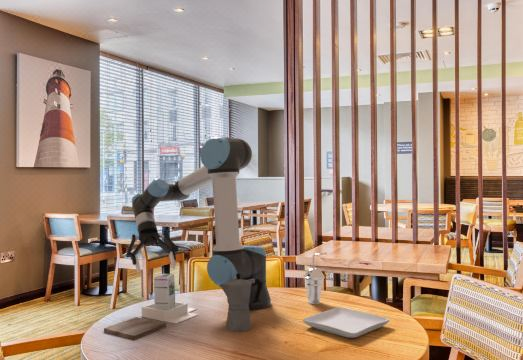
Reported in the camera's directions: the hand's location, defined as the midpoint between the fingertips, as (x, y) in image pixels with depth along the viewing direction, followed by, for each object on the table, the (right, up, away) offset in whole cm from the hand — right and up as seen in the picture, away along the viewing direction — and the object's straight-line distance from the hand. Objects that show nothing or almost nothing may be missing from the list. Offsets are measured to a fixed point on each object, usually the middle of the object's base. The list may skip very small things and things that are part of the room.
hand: (156, 269), depth 179 cm
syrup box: (+5, -15, -7) cm, 18 cm away
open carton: (+8, -15, -7) cm, 18 cm away
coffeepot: (+33, -15, -22) cm, 43 cm away
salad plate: (+68, -15, -23) cm, 73 cm away
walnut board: (-2, -16, -23) cm, 28 cm away
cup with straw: (+61, -15, +7) cm, 63 cm away
